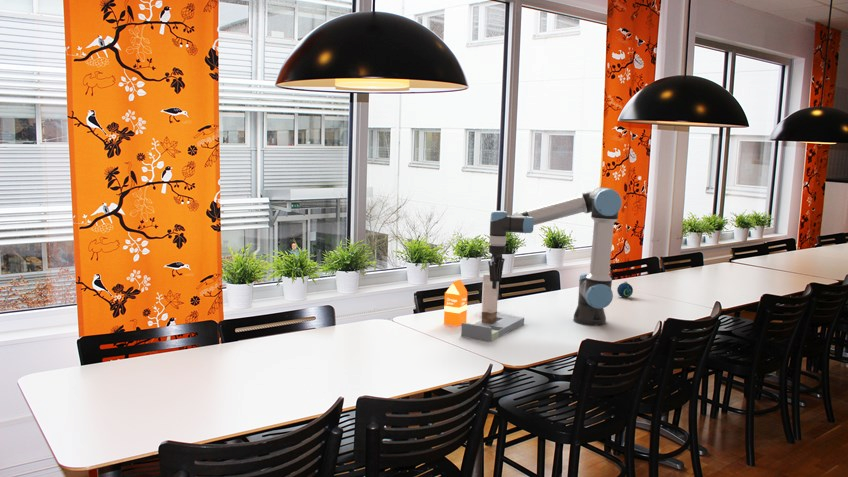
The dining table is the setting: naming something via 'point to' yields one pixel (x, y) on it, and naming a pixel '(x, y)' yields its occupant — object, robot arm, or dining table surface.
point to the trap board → (491, 328)
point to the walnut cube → (489, 316)
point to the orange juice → (455, 304)
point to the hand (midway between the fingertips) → (494, 295)
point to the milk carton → (488, 295)
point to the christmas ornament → (625, 290)
